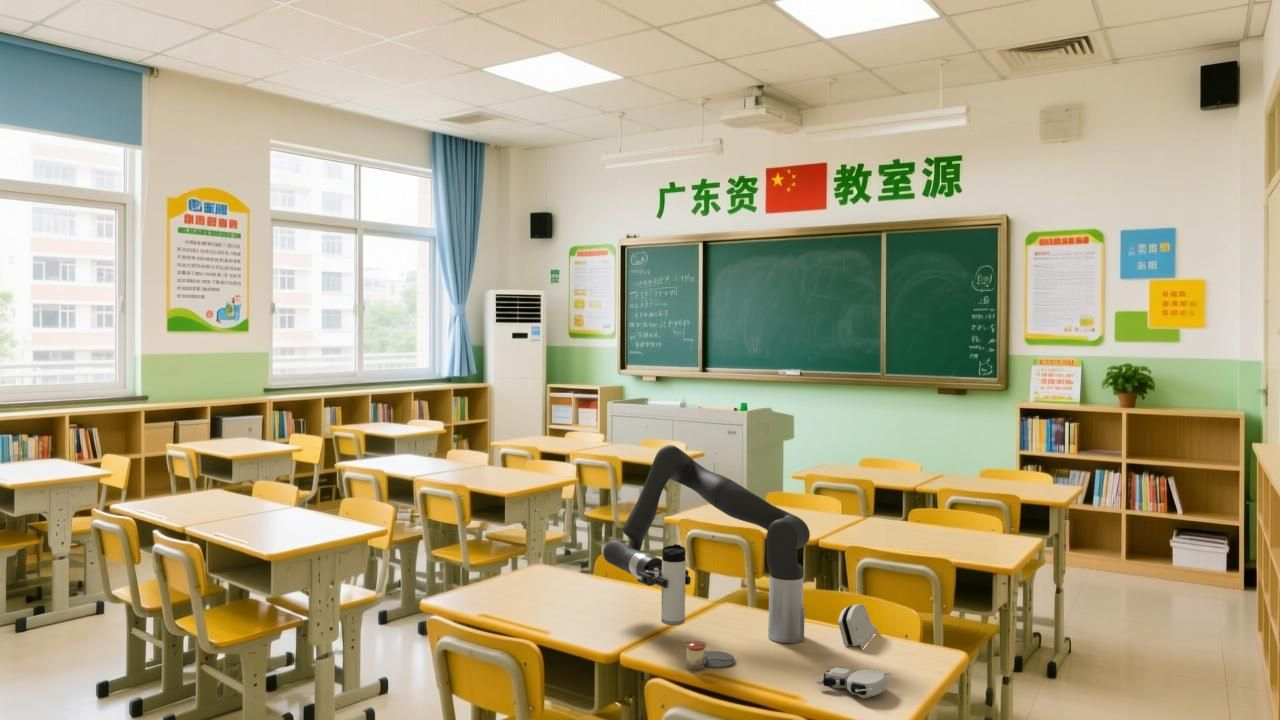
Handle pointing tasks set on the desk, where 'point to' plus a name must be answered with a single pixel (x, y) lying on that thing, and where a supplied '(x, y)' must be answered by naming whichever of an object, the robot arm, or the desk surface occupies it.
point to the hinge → (856, 626)
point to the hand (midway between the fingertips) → (677, 582)
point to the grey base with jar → (706, 656)
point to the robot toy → (856, 681)
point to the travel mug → (673, 585)
